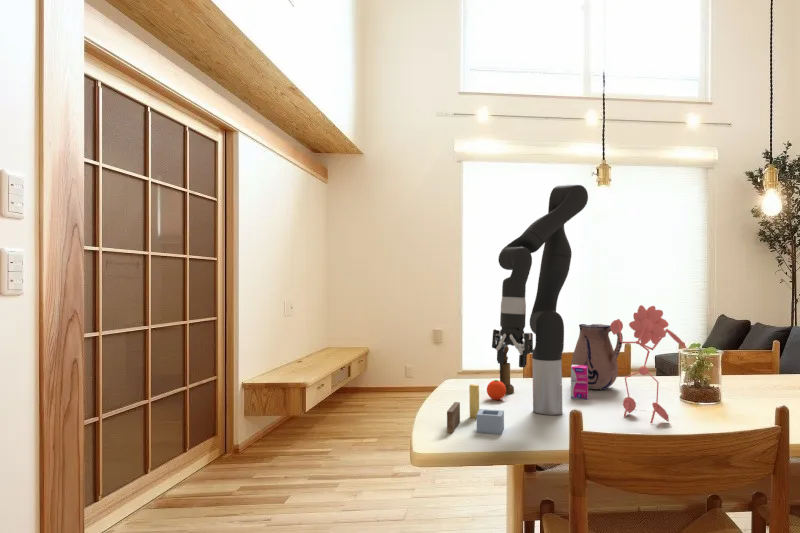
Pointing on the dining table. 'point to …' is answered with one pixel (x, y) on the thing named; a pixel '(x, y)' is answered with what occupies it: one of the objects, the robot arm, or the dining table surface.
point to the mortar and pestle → (506, 373)
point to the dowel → (474, 400)
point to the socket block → (490, 421)
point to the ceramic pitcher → (597, 355)
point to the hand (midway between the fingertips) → (511, 365)
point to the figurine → (646, 329)
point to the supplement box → (579, 381)
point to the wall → (453, 417)
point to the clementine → (496, 390)
